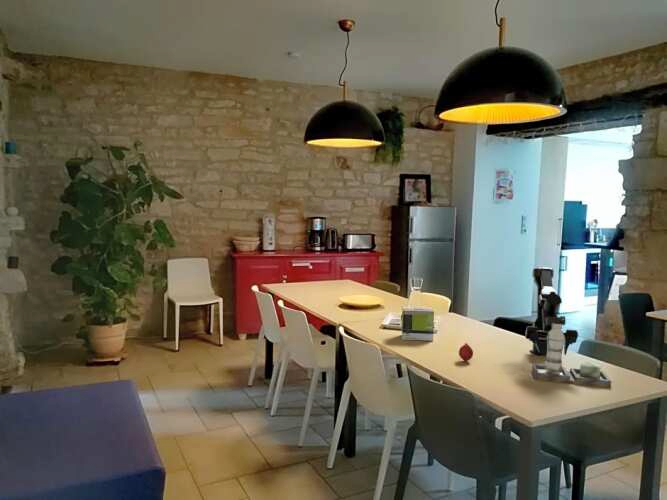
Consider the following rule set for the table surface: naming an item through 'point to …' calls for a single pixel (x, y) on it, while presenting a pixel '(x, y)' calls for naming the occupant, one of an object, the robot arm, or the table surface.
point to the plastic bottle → (554, 349)
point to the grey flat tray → (575, 375)
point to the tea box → (417, 323)
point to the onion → (466, 352)
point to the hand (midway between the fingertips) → (552, 353)
